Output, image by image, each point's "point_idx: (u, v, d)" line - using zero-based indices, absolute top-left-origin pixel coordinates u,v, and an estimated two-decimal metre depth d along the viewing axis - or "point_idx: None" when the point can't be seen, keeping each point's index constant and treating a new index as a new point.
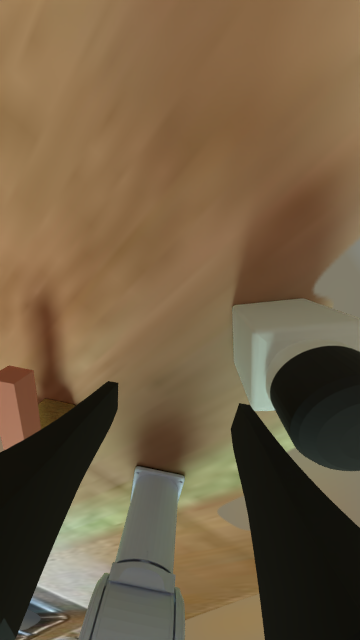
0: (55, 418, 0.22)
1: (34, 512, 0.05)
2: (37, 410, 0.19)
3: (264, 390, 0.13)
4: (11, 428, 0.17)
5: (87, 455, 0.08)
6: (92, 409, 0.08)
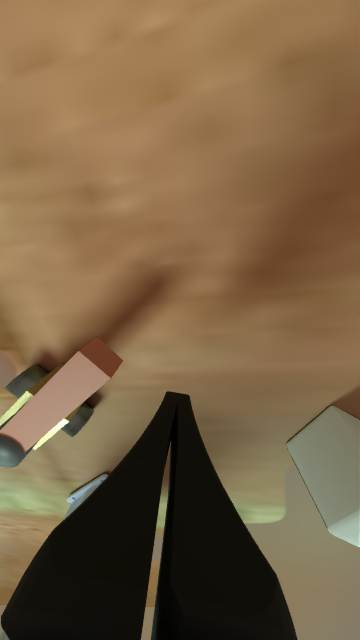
0: None
1: None
2: None
3: None
4: (47, 413, 0.12)
5: None
6: (171, 423, 0.08)
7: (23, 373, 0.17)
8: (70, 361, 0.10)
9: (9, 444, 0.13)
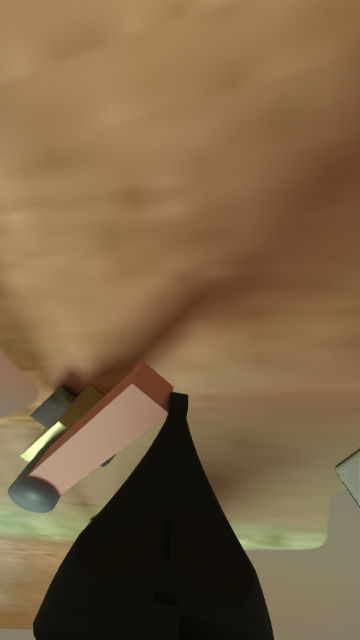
0: None
1: None
2: None
3: None
4: (88, 453, 0.10)
5: None
6: (184, 425, 0.08)
7: (50, 398, 0.15)
8: (121, 395, 0.09)
9: (42, 489, 0.11)
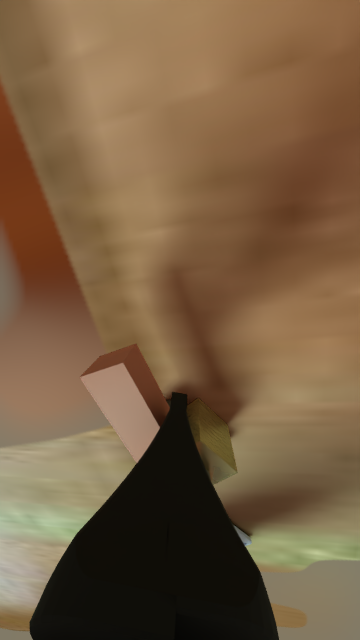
0: (225, 443, 0.15)
1: None
2: None
3: None
4: None
5: None
6: (182, 425, 0.08)
7: None
8: (91, 392, 0.09)
9: None
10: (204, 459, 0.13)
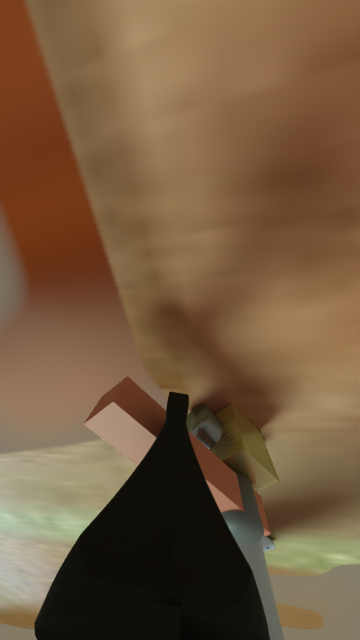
0: (263, 451, 0.15)
1: None
2: None
3: None
4: None
5: None
6: (184, 425, 0.08)
7: (209, 420, 0.14)
8: (98, 434, 0.10)
9: None
10: (247, 467, 0.13)
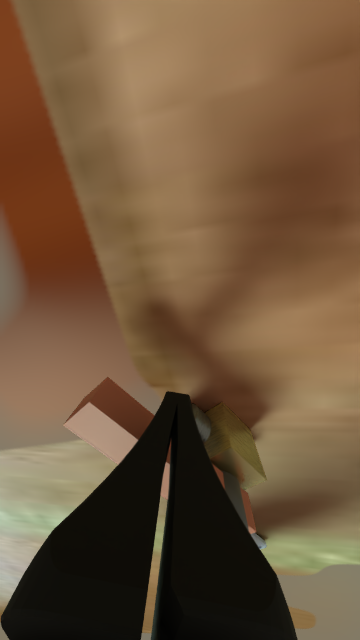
0: (252, 450, 0.15)
1: None
2: None
3: None
4: None
5: None
6: (171, 423, 0.08)
7: (197, 419, 0.14)
8: (78, 434, 0.10)
9: None
10: (234, 466, 0.13)
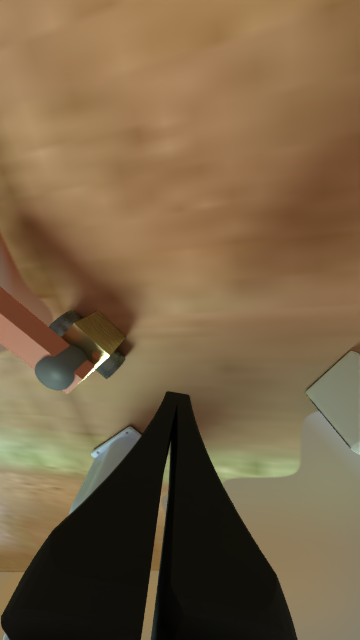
0: (110, 341, 0.18)
1: None
2: (17, 302, 0.15)
3: None
4: None
5: None
6: (171, 423, 0.08)
7: (65, 314, 0.18)
8: None
9: (37, 362, 0.14)
10: (81, 342, 0.17)
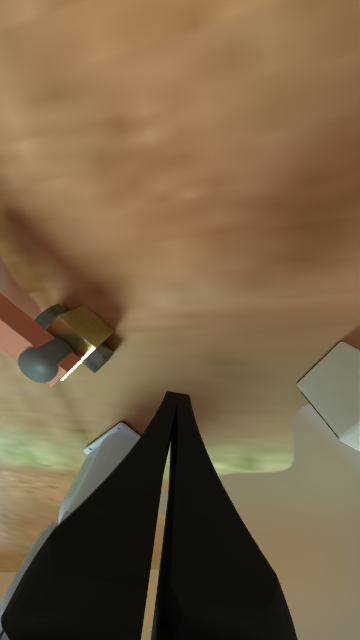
0: (97, 334, 0.18)
1: None
2: (0, 294, 0.15)
3: None
4: None
5: None
6: (171, 423, 0.08)
7: (51, 308, 0.18)
8: None
9: (20, 354, 0.14)
10: (67, 335, 0.16)
